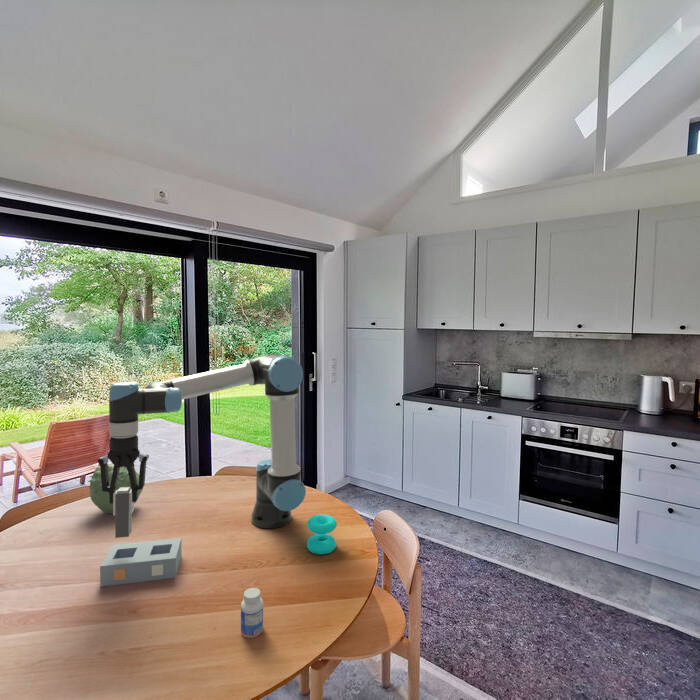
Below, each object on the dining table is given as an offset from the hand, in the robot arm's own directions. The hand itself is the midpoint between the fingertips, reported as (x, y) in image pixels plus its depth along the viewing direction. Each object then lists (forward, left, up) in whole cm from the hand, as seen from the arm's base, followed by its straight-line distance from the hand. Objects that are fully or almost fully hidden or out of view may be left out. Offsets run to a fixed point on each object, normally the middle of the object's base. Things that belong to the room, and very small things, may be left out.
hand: (123, 512), depth 125 cm
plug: (0, 0, -7) cm, 7 cm away
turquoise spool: (-60, -1, -19) cm, 63 cm away
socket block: (-5, 0, -18) cm, 19 cm away
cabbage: (+14, -45, -19) cm, 51 cm away
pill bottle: (-37, +33, -19) cm, 53 cm away
